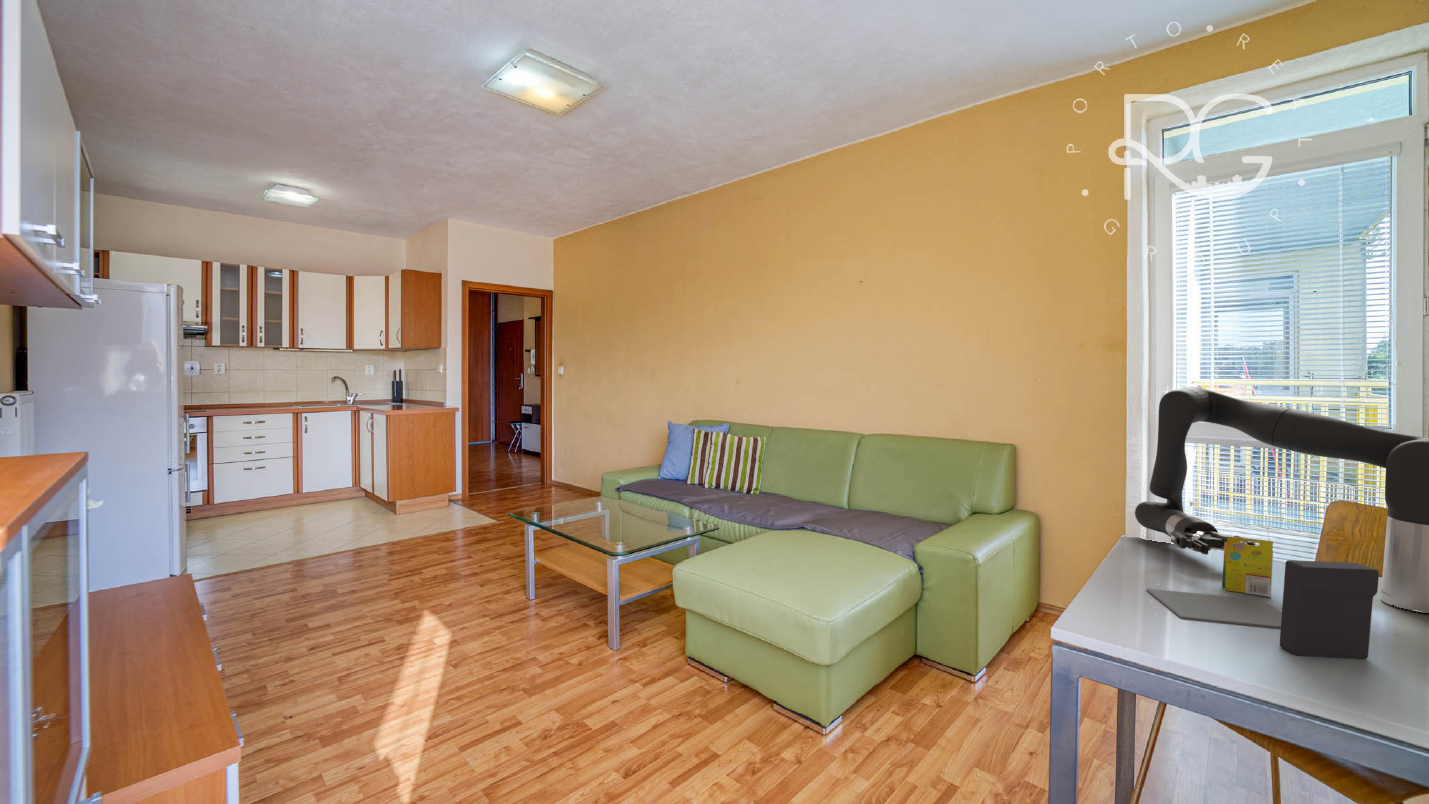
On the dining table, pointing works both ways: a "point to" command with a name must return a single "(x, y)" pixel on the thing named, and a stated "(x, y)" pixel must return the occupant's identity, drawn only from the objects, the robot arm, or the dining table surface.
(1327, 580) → the black square block
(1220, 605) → the mat
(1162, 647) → the dining table surface
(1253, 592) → the crayon box
